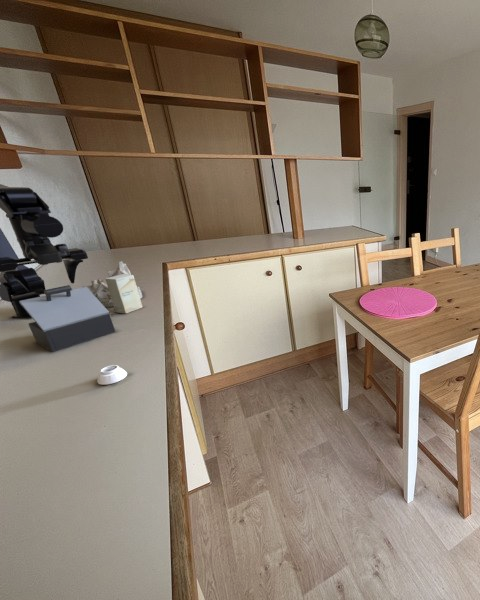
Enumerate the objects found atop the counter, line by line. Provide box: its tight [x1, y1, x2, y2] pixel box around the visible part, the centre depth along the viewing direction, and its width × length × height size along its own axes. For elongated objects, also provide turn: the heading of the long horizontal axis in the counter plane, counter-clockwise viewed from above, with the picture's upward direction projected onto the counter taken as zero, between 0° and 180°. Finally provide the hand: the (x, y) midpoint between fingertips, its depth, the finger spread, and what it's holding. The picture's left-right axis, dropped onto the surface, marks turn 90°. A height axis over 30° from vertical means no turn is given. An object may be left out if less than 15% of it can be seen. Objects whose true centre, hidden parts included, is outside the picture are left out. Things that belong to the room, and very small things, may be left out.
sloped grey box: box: [28, 313, 116, 353], centre depth 89 cm, size 11×14×6 cm
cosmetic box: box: [104, 274, 143, 314], centre depth 106 cm, size 6×4×12 cm
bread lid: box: [19, 284, 110, 332], centre depth 85 cm, size 11×14×5 cm
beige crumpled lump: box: [81, 261, 143, 308], centre depth 114 cm, size 16×16×15 cm
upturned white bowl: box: [96, 364, 128, 386], centre depth 71 cm, size 5×3×5 cm
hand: (52, 287), depth 93 cm, fingers open, 9 cm apart
